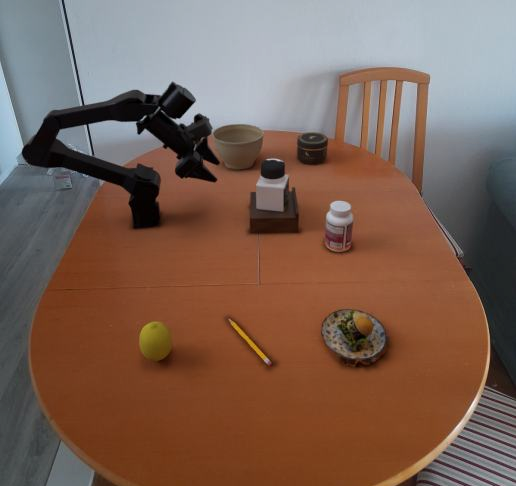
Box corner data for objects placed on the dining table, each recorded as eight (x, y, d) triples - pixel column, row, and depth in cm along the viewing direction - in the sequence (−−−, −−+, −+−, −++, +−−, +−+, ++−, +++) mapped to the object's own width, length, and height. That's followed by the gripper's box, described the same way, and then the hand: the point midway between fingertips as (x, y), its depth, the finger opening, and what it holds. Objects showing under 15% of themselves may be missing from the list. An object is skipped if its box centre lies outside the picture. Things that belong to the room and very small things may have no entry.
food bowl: (334, 307, 89) (337, 278, 85) (394, 329, 83) (399, 299, 80) (309, 349, 80) (311, 319, 76) (374, 378, 74) (379, 346, 71)
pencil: (268, 367, 77) (268, 364, 76) (226, 320, 86) (226, 318, 86) (272, 364, 77) (272, 362, 77) (230, 318, 87) (229, 316, 86)
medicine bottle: (284, 212, 111) (284, 169, 105) (256, 209, 112) (255, 167, 107) (288, 198, 117) (289, 156, 111) (262, 195, 118) (261, 154, 113)
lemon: (167, 372, 76) (161, 339, 72) (137, 367, 77) (130, 334, 73) (179, 347, 81) (174, 314, 77) (150, 342, 82) (144, 310, 78)
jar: (292, 162, 145) (293, 141, 142) (301, 150, 153) (302, 130, 150) (322, 167, 142) (323, 145, 138) (330, 154, 150) (331, 133, 146)
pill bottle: (342, 235, 110) (346, 196, 104) (355, 249, 105) (360, 209, 99) (320, 240, 108) (322, 201, 103) (332, 255, 103) (335, 215, 98)
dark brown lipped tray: (250, 233, 111) (249, 214, 108) (250, 205, 123) (250, 187, 120) (298, 232, 111) (298, 213, 108) (294, 205, 122) (294, 187, 120)
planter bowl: (264, 174, 138) (263, 142, 133) (212, 175, 139) (209, 143, 133) (264, 152, 152) (263, 123, 147) (217, 153, 153) (215, 123, 148)
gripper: (184, 123, 95) (238, 168, 100) (194, 95, 111) (240, 136, 116) (152, 157, 99) (205, 199, 104) (167, 126, 115) (212, 163, 120)
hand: (217, 172), depth 111 cm, fingers open, 9 cm apart
